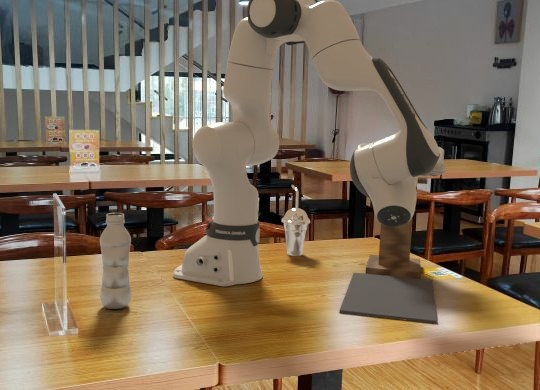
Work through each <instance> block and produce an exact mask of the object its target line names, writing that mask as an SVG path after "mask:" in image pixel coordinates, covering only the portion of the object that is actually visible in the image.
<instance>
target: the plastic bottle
mask: <svg viewBox="0 0 540 390" xmlns="http://www.w3.org/2000/svg"><path fill="white" fill-rule="evenodd" d="M105 217H106V218H105V219H106V220H105V224H107V225H106V227H105V228H104V230H103V231H102V233H101V235H100V237H99V246H100V251H101V252H100V253H101V258H102V259H101V260H102V262H101V263H102V279H101V280H102V281H101V288H100V292H99V293H100V295H99V298H100V303H101V304H102V306H103V307H104V308H106V309H111V310H117V309H119V310H120V309H124V308H126V307H128V306H129V304H130V303H131V299H132V296H133V295H132V294H133V293H132V287H131V284H130V274H129V266H130V265H129V263H130V261H129V260H130V251H131V243H132V237H131V234H130V233H129V231H128V229H126V227H125V226H124V224H125V214H124V213H123V212H110V213H106V216H105Z"/></svg>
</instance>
